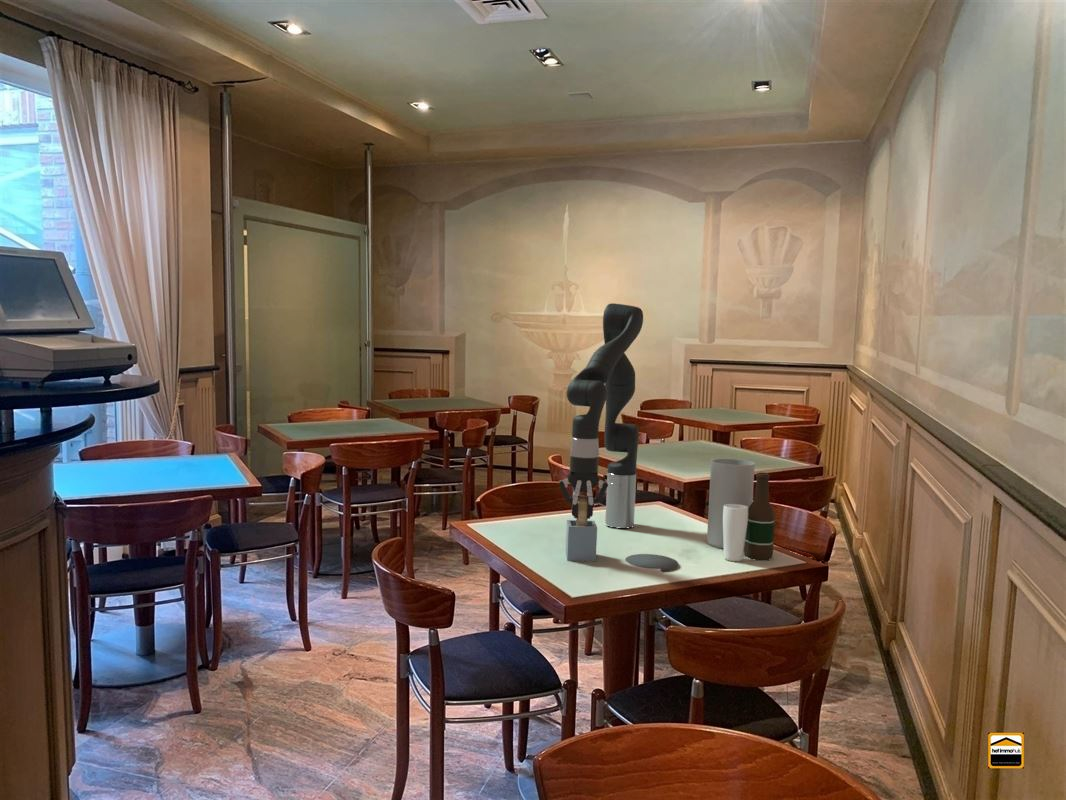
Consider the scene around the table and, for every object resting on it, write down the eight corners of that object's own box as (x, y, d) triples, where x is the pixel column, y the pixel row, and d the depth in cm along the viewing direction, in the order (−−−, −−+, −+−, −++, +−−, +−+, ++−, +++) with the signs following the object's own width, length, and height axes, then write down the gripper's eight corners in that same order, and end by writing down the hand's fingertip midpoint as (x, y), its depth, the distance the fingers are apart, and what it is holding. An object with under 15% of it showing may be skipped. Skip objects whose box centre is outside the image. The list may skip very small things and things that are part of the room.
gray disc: (622, 556, 216) (622, 553, 216) (672, 557, 216) (672, 554, 216) (629, 571, 202) (629, 567, 202) (682, 572, 202) (683, 569, 202)
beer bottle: (759, 562, 215) (764, 476, 213) (738, 555, 221) (742, 471, 219) (778, 559, 219) (783, 474, 217) (757, 552, 225) (761, 470, 224)
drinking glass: (715, 556, 219) (718, 504, 218) (736, 555, 221) (738, 503, 220) (729, 563, 212) (732, 509, 211) (750, 561, 215) (753, 508, 214)
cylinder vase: (755, 551, 227) (760, 466, 225) (712, 549, 227) (716, 464, 225) (743, 540, 239) (747, 459, 237) (702, 538, 239) (706, 458, 237)
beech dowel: (574, 553, 212) (576, 495, 211) (585, 553, 212) (588, 495, 211) (575, 556, 209) (577, 497, 208) (586, 556, 209) (589, 498, 208)
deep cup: (565, 555, 215) (566, 519, 214) (592, 556, 215) (594, 520, 214) (567, 563, 207) (568, 526, 206) (595, 564, 207) (597, 527, 206)
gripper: (608, 453, 213) (606, 515, 214) (557, 451, 212) (555, 514, 214) (612, 457, 205) (609, 522, 206) (559, 455, 205) (556, 520, 206)
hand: (581, 517), depth 210 cm, fingers closed on beech dowel, 3 cm apart
